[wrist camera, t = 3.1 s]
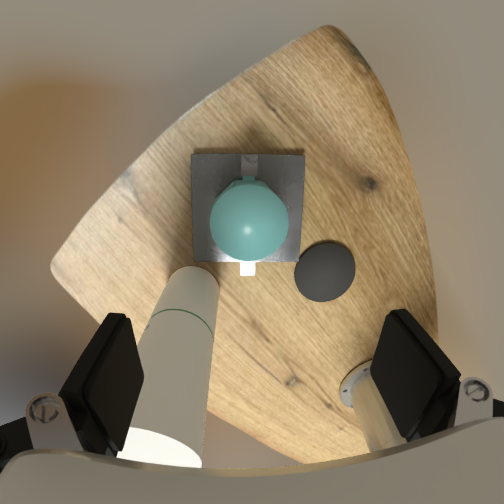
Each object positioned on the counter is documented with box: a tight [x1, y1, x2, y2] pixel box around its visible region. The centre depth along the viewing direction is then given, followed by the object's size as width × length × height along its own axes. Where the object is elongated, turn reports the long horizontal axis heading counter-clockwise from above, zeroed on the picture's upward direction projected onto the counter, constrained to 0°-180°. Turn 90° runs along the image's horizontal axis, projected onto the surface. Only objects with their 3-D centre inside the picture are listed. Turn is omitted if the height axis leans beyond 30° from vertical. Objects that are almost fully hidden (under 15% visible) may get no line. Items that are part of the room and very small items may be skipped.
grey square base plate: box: [191, 153, 305, 275], centre depth 32 cm, size 13×13×7 cm
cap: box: [210, 176, 289, 261], centre depth 30 cm, size 10×7×5 cm
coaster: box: [294, 242, 355, 302], centre depth 38 cm, size 8×8×1 cm
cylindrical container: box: [116, 266, 219, 468], centre depth 27 cm, size 7×7×25 cm
